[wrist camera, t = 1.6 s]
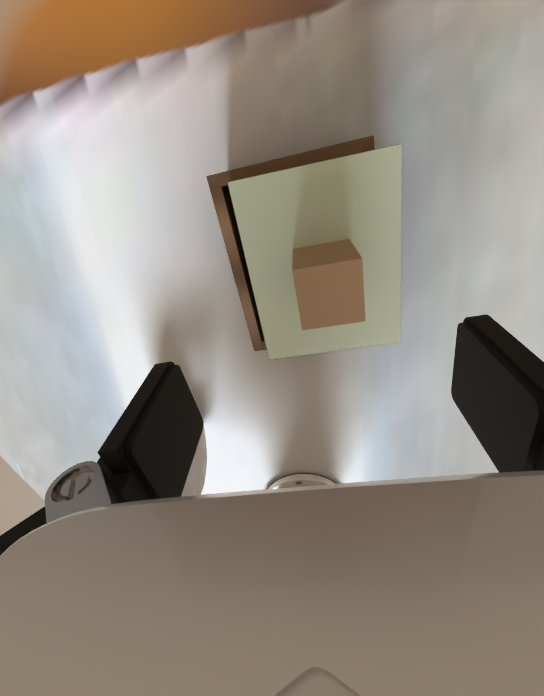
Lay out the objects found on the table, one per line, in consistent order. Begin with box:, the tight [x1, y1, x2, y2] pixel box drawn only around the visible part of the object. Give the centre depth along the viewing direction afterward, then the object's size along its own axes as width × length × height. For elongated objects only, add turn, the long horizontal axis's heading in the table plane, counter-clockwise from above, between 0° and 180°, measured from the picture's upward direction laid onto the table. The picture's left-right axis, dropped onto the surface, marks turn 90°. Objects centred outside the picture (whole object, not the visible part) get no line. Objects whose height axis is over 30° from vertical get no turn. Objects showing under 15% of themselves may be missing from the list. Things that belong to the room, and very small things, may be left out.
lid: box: [228, 144, 402, 360], centre depth 22 cm, size 14×11×6 cm
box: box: [207, 136, 374, 351], centre depth 28 cm, size 14×11×8 cm
